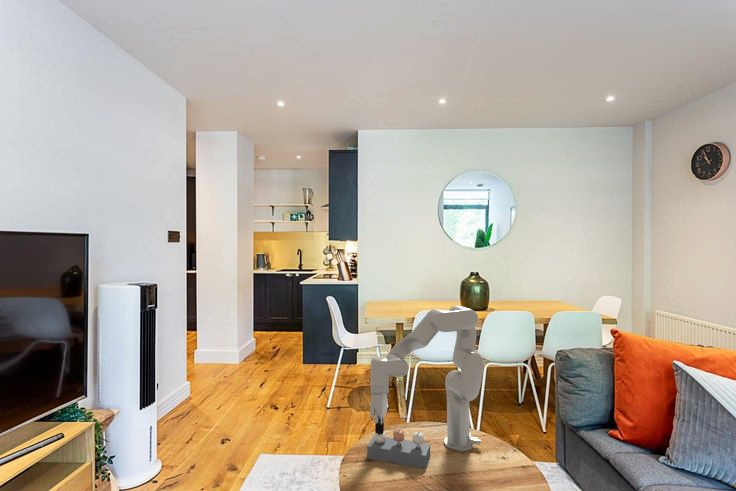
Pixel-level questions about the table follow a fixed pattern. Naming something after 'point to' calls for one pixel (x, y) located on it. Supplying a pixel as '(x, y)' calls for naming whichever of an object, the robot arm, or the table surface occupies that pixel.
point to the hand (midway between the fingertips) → (379, 432)
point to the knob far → (380, 437)
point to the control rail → (399, 452)
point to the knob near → (418, 439)
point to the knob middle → (398, 436)
